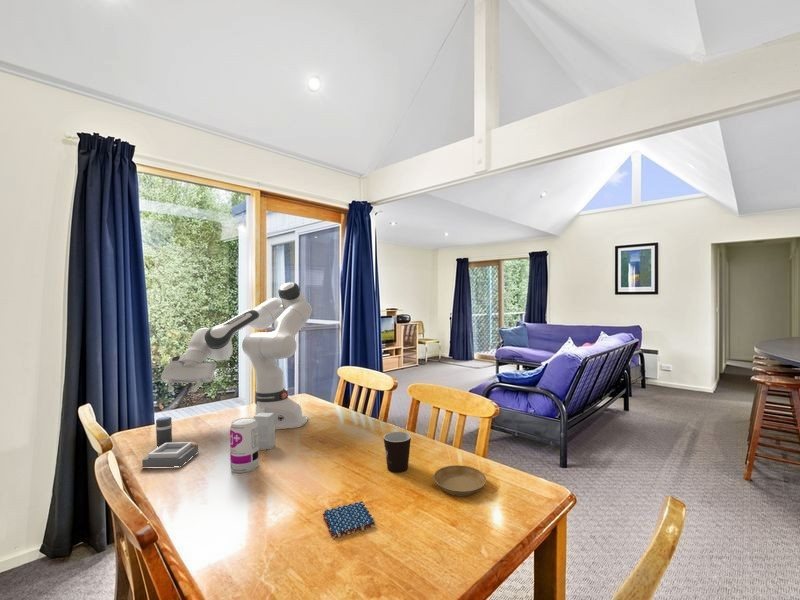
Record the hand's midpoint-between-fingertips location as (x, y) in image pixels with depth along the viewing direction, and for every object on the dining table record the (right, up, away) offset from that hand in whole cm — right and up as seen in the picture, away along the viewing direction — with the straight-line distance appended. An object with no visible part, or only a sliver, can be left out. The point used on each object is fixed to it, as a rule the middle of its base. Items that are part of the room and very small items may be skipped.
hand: (181, 391), depth 151 cm
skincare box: (+40, -17, -16) cm, 46 cm away
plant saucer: (+105, -16, -45) cm, 116 cm away
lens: (+1, -17, -14) cm, 22 cm away
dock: (+12, -17, -26) cm, 33 cm away
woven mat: (+76, -17, -61) cm, 99 cm away
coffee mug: (+88, -16, -33) cm, 95 cm away
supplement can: (+39, -17, -32) cm, 53 cm away
